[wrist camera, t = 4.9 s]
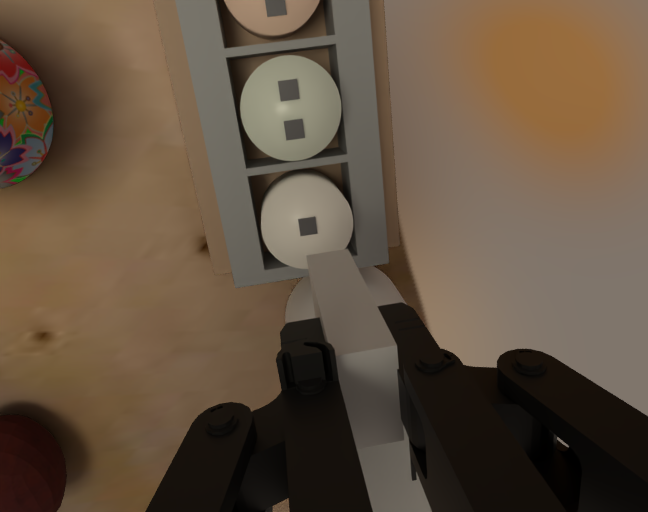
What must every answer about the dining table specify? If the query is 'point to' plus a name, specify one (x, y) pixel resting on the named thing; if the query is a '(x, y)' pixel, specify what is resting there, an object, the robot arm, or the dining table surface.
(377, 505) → the cup
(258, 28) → the button
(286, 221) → the button
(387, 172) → the console
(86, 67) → the dining table surface
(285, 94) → the button
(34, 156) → the mug
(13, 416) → the potato
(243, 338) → the dining table surface
